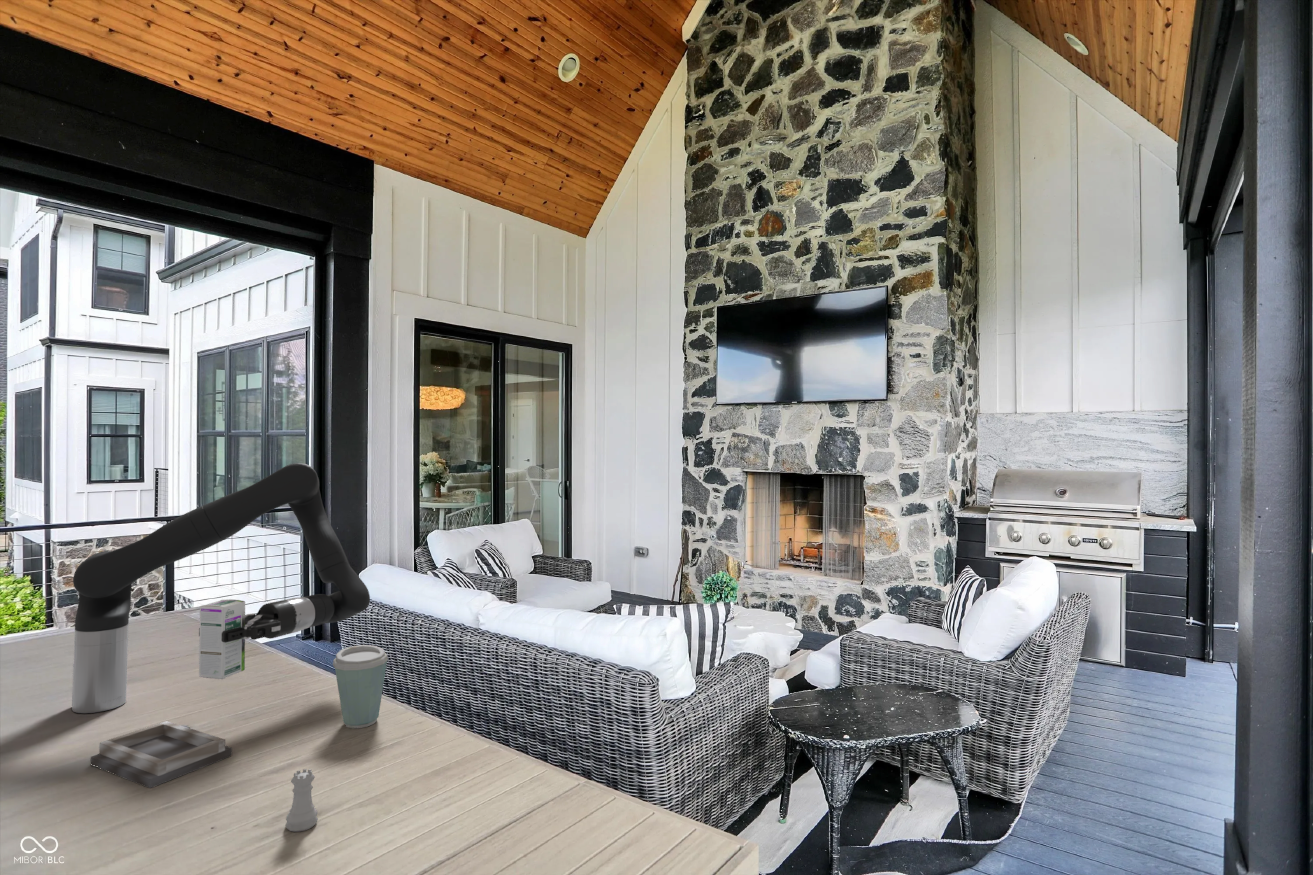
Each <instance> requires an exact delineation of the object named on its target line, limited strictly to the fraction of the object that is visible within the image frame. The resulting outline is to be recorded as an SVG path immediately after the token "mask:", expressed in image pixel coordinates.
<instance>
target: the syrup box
mask: <svg viewBox="0 0 1313 875" xmlns="http://www.w3.org/2000/svg"><path fill="white" fill-rule="evenodd" d="M245 615H246V601H245V600H240V599H231V598H230V599H220V600H218V601H215V602H210V603H207V604H202V605H200V606H199V628H200V637H199V636H198V637H199V644H198V645H199V646H198V647H199V651H198V652H199V653H198V656H199V657H198V662H199V663H198V664H199V668H198V675H199V677H200V678H206V679H214V680H225V679H226V678H228V677H231V676H233V675H236V674H239V673H241V672H244V671H245V669H246V667H245V664H246V660H245V659H246V657H245V656H246V651H245V650H246V649H245V648H246V647H245V646H246V639H238V640H234V641H230V642H226V643H225V642H222V640H221V639H222V632H223V631H226V630H230V629H234V628H238V627H241V628H242V627H243V626H245Z"/></svg>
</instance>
